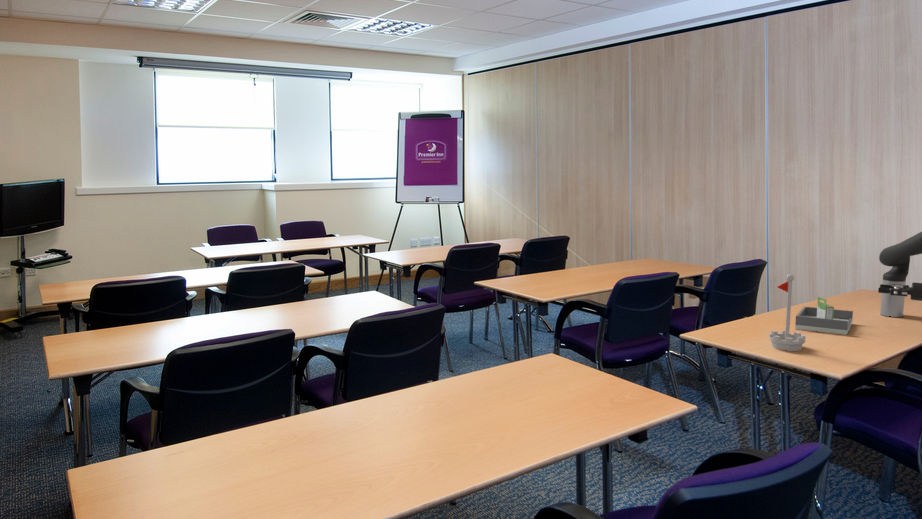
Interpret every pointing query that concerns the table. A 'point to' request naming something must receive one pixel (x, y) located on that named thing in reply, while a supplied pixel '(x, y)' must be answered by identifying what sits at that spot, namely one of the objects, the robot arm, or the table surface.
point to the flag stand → (787, 325)
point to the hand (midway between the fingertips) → (879, 288)
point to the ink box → (824, 309)
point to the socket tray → (824, 321)
